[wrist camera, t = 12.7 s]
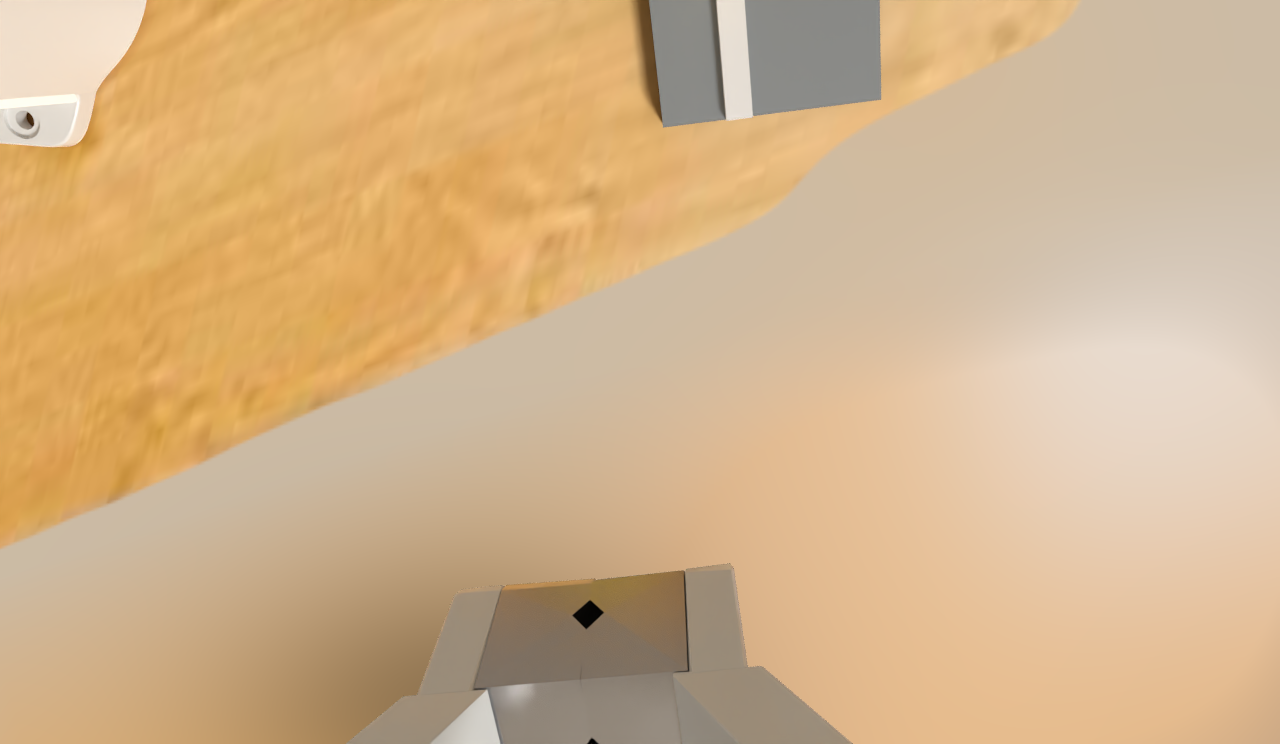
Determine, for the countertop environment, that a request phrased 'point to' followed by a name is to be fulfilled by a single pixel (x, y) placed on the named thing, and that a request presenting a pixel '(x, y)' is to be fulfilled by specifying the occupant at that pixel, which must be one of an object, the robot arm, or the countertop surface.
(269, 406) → the countertop surface
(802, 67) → the board
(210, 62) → the countertop surface
